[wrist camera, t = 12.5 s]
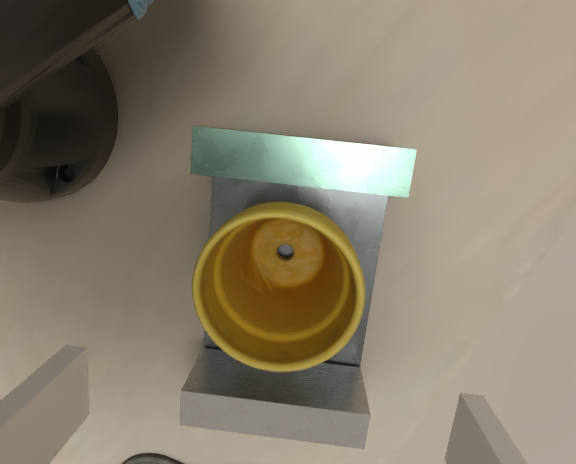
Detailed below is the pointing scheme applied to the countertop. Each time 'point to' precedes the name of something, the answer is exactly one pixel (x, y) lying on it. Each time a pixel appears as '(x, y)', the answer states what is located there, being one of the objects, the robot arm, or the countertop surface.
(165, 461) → the c clamp
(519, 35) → the countertop surface
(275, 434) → the steel jaw
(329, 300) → the plant pot
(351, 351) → the vise base
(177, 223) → the countertop surface
